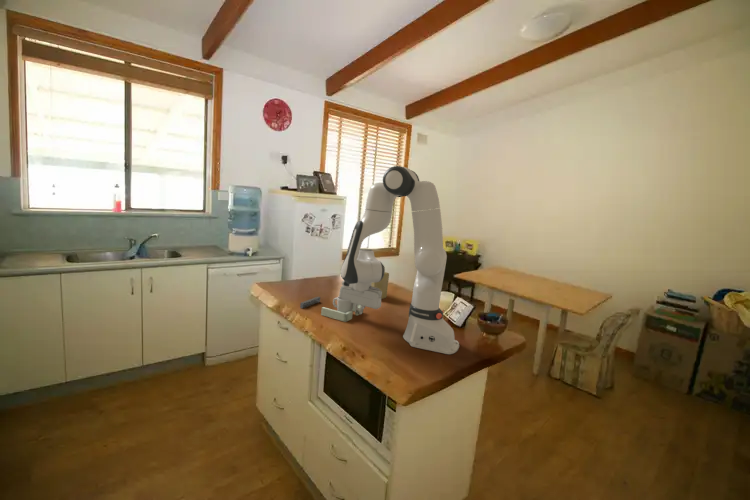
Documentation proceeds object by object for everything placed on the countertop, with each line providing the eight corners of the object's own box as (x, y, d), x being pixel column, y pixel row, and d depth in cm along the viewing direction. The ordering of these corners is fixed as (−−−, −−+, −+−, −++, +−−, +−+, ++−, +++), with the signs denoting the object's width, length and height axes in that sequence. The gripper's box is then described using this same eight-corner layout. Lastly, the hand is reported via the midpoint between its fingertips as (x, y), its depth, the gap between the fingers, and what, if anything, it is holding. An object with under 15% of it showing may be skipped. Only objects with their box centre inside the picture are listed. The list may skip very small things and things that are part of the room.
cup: (327, 312, 161) (328, 296, 160) (337, 308, 168) (338, 292, 167) (347, 318, 156) (348, 301, 155) (356, 314, 163) (357, 298, 162)
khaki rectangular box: (350, 289, 205) (352, 264, 203) (363, 287, 212) (366, 263, 209) (373, 300, 189) (376, 273, 186) (387, 298, 195) (390, 272, 192)
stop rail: (319, 301, 175) (320, 297, 175) (302, 308, 163) (303, 303, 163) (317, 301, 176) (317, 296, 176) (300, 307, 164) (300, 302, 163)
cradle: (363, 312, 167) (363, 305, 166) (345, 322, 152) (346, 314, 151) (339, 306, 172) (340, 299, 171) (320, 314, 157) (321, 307, 157)
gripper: (385, 287, 155) (381, 317, 157) (345, 278, 163) (343, 306, 165) (379, 290, 149) (375, 321, 151) (338, 280, 157) (336, 309, 160)
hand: (358, 313), depth 158 cm, fingers closed
